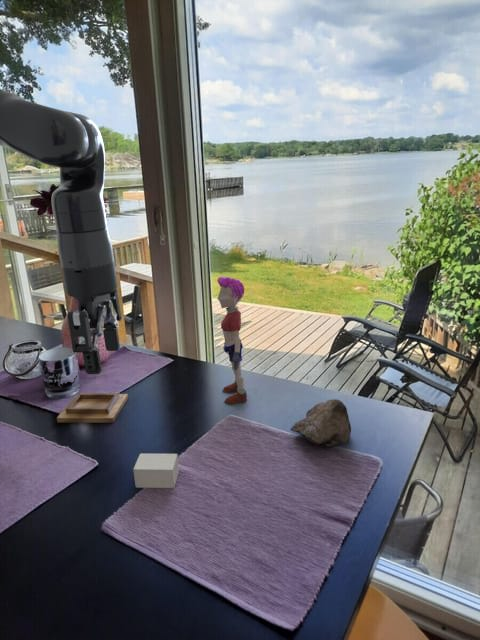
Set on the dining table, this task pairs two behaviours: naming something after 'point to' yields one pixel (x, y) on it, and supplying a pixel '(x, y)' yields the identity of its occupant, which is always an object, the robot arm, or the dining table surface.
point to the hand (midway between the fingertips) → (104, 361)
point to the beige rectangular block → (156, 470)
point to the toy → (232, 334)
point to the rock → (325, 424)
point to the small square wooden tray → (93, 408)
